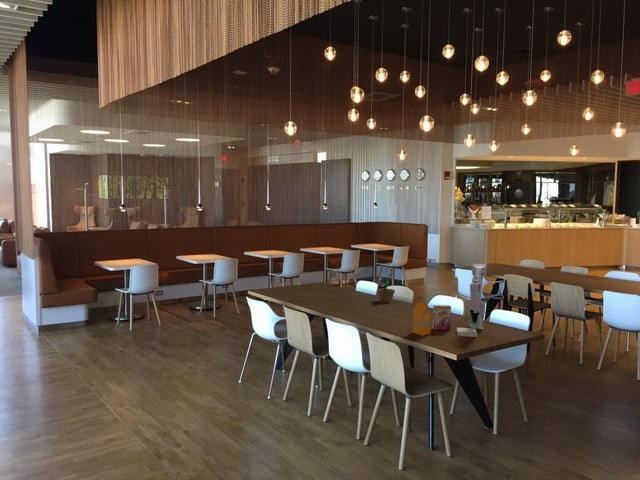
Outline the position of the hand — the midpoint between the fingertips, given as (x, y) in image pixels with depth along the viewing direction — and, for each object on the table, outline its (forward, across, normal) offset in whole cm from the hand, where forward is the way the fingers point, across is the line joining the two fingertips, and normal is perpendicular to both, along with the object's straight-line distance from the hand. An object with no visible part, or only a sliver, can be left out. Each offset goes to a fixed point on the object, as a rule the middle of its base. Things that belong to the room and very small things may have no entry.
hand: (474, 321), depth 341 cm
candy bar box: (+9, -8, -20) cm, 24 cm away
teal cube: (+2, 0, 0) cm, 2 cm away
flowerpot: (+9, -96, -63) cm, 115 cm away
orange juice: (+9, +6, -34) cm, 35 cm away
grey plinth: (+9, 0, -4) cm, 10 cm away
